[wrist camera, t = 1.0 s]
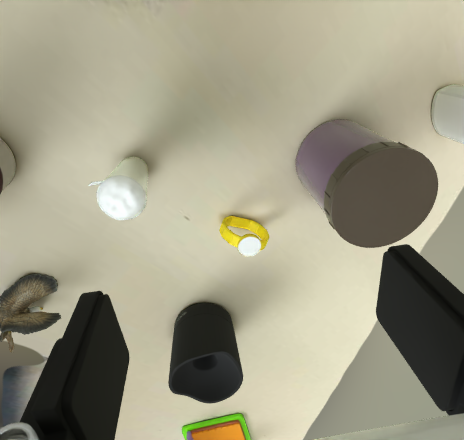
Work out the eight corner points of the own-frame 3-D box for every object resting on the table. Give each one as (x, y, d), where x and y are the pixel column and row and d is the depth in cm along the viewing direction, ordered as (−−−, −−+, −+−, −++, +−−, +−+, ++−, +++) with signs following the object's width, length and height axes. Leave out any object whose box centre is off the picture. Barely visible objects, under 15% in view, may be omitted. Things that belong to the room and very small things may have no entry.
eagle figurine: (39, 339, 48) (77, 315, 44) (-14, 365, 41) (27, 339, 38) (15, 291, 49) (51, 264, 45) (-40, 309, 42) (-2, 279, 39)
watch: (216, 226, 44) (219, 251, 38) (222, 207, 43) (227, 231, 37) (258, 235, 45) (268, 261, 40) (266, 218, 44) (276, 242, 39)
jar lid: (361, 123, 29) (372, 128, 27) (446, 165, 32) (461, 173, 30) (303, 219, 33) (310, 229, 31) (384, 249, 36) (394, 260, 34)
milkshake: (127, 136, 37) (108, 166, 28) (162, 171, 39) (154, 208, 31) (99, 162, 38) (72, 200, 29) (135, 195, 40) (119, 238, 32)
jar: (321, 105, 38) (369, 130, 28) (387, 138, 41) (453, 171, 30) (281, 179, 42) (311, 225, 31) (344, 205, 44) (390, 254, 34)
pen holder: (225, 292, 49) (232, 347, 40) (240, 335, 54) (250, 393, 45) (163, 309, 49) (157, 367, 41) (183, 351, 54) (182, 411, 45)
